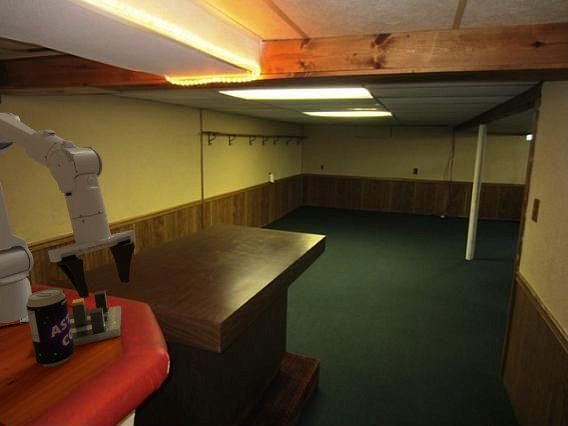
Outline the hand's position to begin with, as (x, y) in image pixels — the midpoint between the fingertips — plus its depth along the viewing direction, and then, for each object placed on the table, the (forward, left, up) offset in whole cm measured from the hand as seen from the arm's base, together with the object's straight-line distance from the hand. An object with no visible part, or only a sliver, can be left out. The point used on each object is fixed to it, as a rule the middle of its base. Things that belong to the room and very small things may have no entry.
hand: (105, 289), depth 68 cm
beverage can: (+2, -9, -11) cm, 14 cm away
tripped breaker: (-8, -6, -9) cm, 13 cm away
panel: (-8, -6, -10) cm, 14 cm away
